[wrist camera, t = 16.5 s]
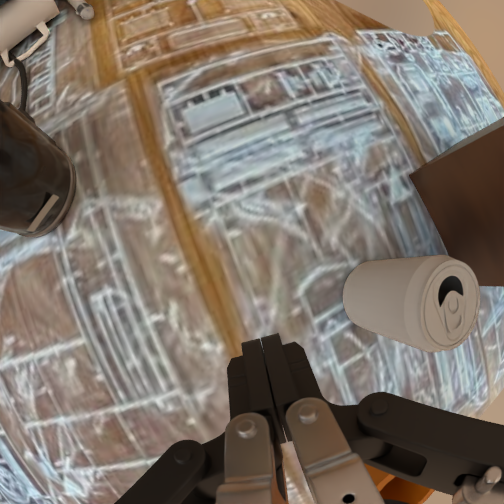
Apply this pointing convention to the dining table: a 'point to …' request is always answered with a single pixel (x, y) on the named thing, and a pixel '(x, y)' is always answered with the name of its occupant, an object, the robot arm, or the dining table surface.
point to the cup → (24, 24)
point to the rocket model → (83, 9)
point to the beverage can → (414, 300)
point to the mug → (398, 487)
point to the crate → (469, 201)
